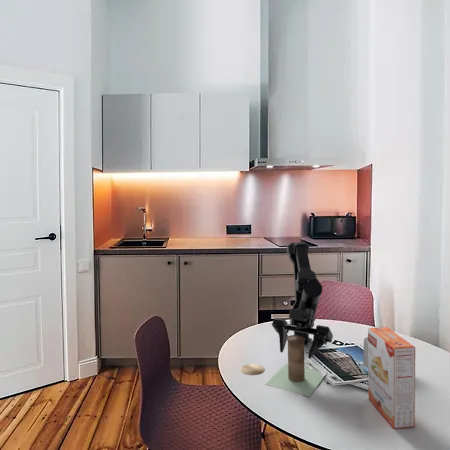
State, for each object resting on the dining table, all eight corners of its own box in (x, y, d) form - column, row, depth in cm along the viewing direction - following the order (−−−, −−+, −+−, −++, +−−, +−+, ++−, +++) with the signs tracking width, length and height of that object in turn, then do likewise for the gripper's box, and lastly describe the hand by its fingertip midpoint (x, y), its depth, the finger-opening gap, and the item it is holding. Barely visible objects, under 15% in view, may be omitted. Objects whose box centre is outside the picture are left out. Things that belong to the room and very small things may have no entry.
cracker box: (366, 399, 109) (366, 327, 108) (387, 398, 110) (387, 325, 108) (392, 429, 96) (392, 347, 94) (415, 428, 96) (416, 345, 94)
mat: (286, 365, 132) (286, 363, 132) (326, 374, 125) (326, 373, 125) (265, 385, 119) (264, 384, 119) (309, 397, 111) (309, 396, 111)
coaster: (247, 363, 134) (247, 362, 134) (268, 368, 130) (268, 367, 130) (236, 372, 128) (236, 371, 128) (257, 378, 124) (257, 377, 123)
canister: (291, 372, 126) (291, 333, 124) (307, 376, 123) (307, 336, 122) (285, 380, 121) (284, 339, 120) (301, 384, 118) (300, 342, 117)
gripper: (273, 294, 128) (258, 338, 120) (329, 301, 118) (317, 349, 110) (283, 311, 136) (270, 353, 127) (337, 319, 126) (326, 365, 117)
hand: (294, 355), depth 120 cm, fingers open, 9 cm apart
